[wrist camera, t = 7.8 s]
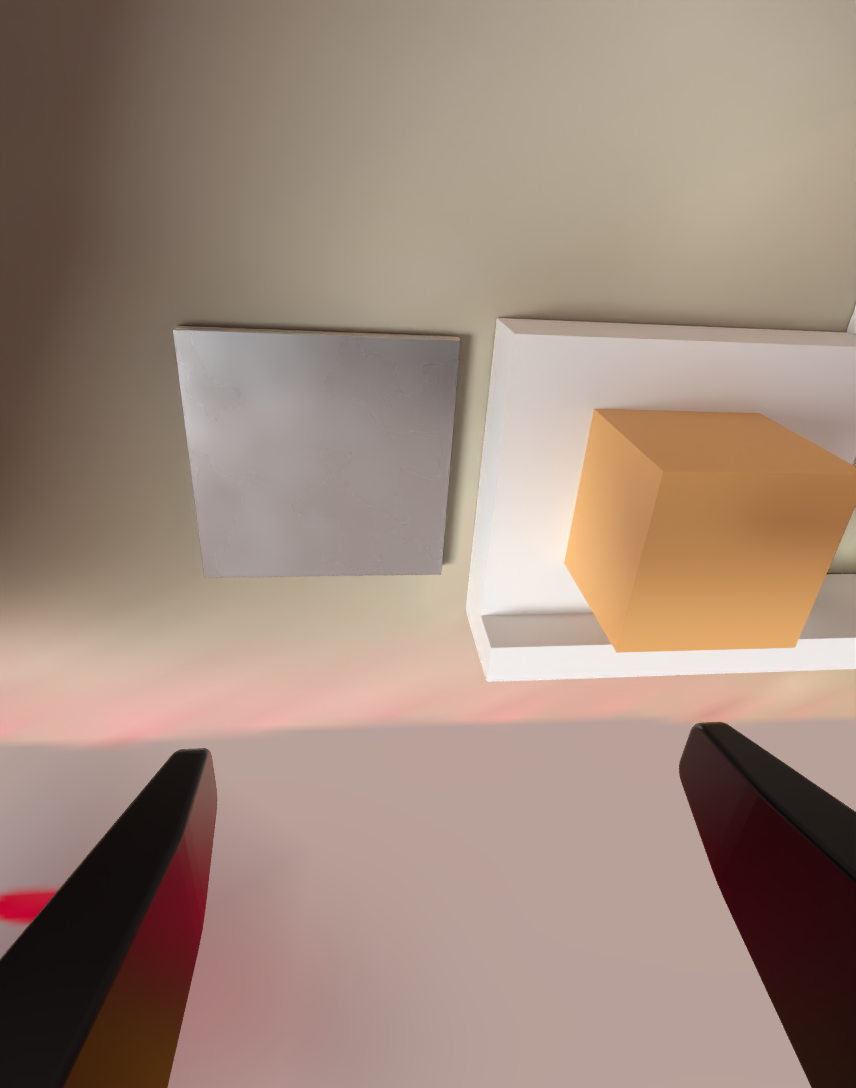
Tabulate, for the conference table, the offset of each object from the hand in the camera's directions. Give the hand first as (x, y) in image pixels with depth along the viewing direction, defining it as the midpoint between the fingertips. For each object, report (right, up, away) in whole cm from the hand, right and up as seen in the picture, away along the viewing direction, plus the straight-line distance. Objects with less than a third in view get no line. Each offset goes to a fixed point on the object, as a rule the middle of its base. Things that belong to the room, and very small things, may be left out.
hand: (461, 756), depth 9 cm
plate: (-3, +5, +9) cm, 11 cm away
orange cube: (+6, +4, +9) cm, 11 cm away
